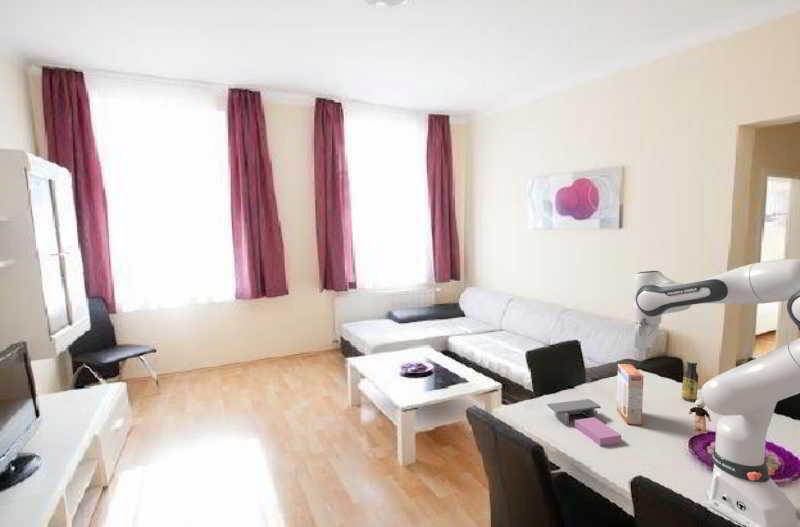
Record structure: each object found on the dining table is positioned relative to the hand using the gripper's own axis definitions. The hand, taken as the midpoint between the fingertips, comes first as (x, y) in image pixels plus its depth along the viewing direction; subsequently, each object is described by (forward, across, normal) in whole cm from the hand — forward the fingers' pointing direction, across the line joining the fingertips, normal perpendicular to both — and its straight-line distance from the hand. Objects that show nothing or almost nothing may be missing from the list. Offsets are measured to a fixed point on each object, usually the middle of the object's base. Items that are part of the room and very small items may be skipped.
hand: (645, 355), depth 146 cm
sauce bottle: (+36, +60, -7) cm, 70 cm away
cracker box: (+36, +25, +10) cm, 45 cm away
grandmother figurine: (+36, +29, -14) cm, 48 cm away
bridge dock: (+35, +10, +27) cm, 45 cm away
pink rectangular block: (+36, +2, +16) cm, 39 cm away
